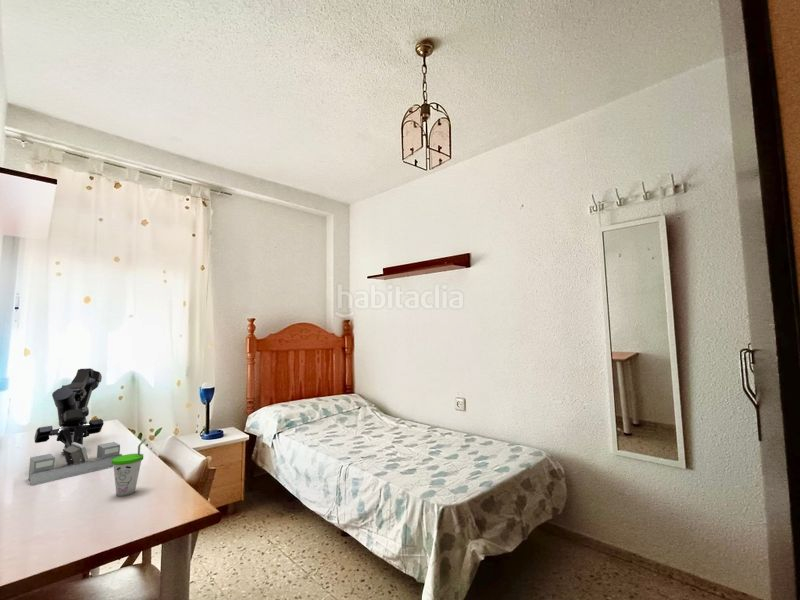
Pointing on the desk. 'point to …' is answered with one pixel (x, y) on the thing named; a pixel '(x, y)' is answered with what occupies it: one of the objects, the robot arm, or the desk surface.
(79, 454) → the electrical switch
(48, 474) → the rail
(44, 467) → the mounted modules
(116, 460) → the cup
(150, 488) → the desk surface
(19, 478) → the desk surface
